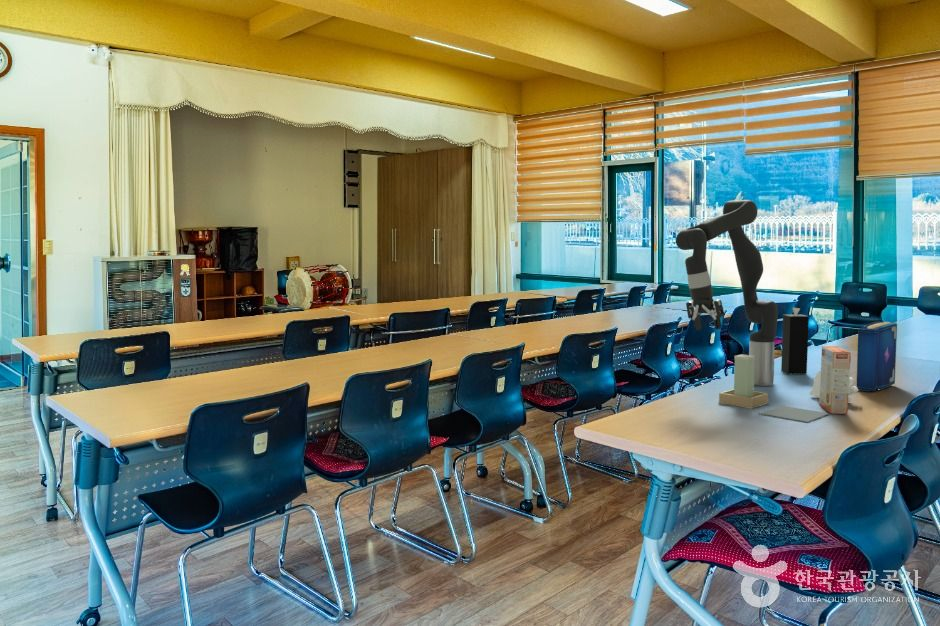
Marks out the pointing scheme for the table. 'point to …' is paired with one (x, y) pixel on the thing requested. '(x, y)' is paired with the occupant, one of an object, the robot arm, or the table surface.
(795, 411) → the mat
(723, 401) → the wooden square frame
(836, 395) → the cracker box
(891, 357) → the book
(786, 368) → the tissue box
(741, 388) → the tea tin
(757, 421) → the table surface
